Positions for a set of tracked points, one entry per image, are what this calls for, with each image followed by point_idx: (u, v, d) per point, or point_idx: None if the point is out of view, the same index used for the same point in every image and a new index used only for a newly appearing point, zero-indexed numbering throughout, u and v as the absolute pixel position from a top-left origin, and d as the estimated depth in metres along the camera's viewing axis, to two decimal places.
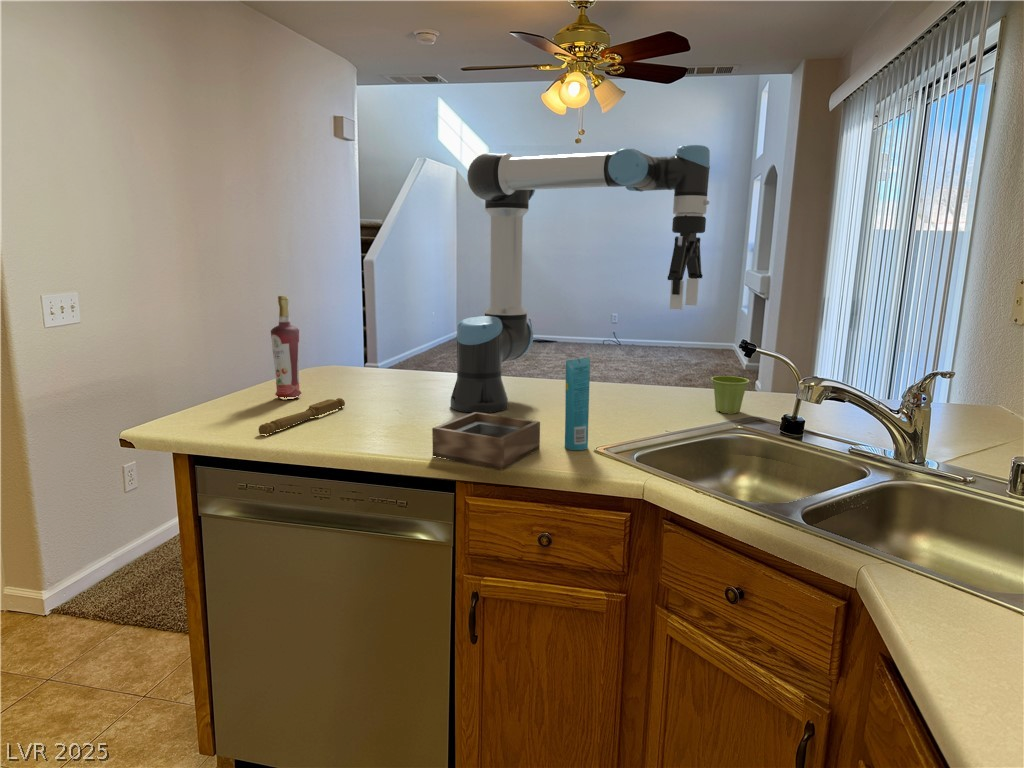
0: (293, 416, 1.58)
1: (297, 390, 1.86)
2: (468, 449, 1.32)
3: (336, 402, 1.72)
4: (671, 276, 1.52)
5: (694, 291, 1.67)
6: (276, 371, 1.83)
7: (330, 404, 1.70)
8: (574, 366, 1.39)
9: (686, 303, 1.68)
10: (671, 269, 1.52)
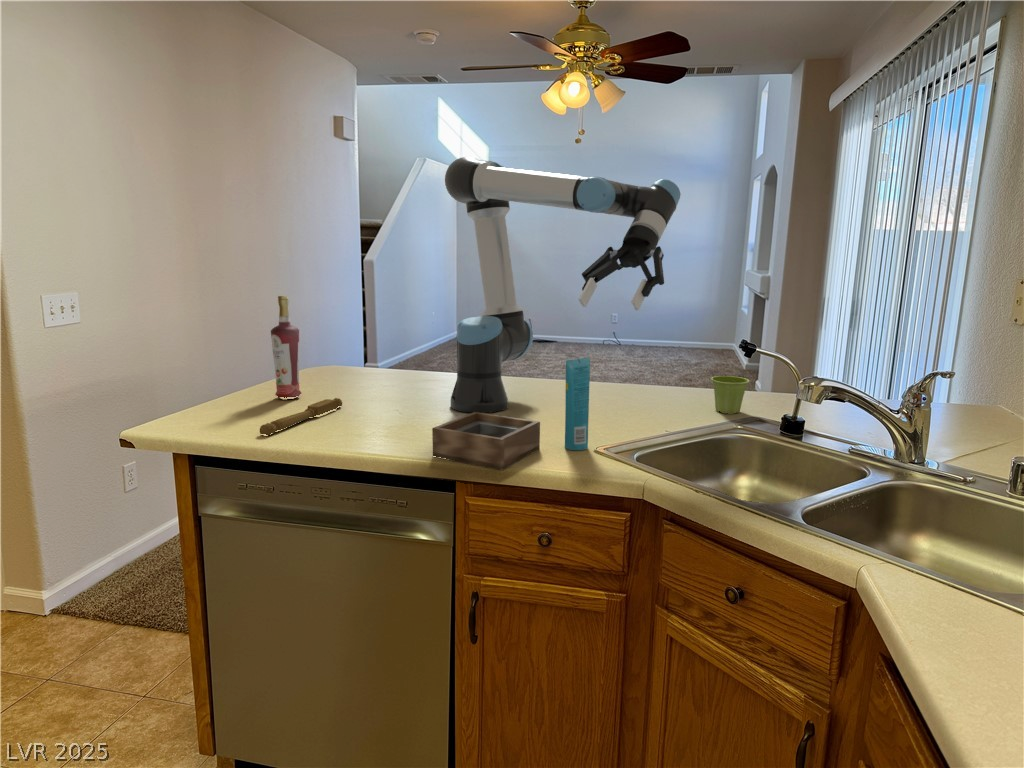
0: (293, 416, 1.58)
1: (297, 390, 1.86)
2: (468, 449, 1.32)
3: (334, 402, 1.72)
4: (659, 278, 1.45)
5: (590, 294, 1.55)
6: (276, 371, 1.83)
7: (328, 404, 1.70)
8: (574, 366, 1.39)
9: (582, 298, 1.52)
10: (660, 272, 1.46)
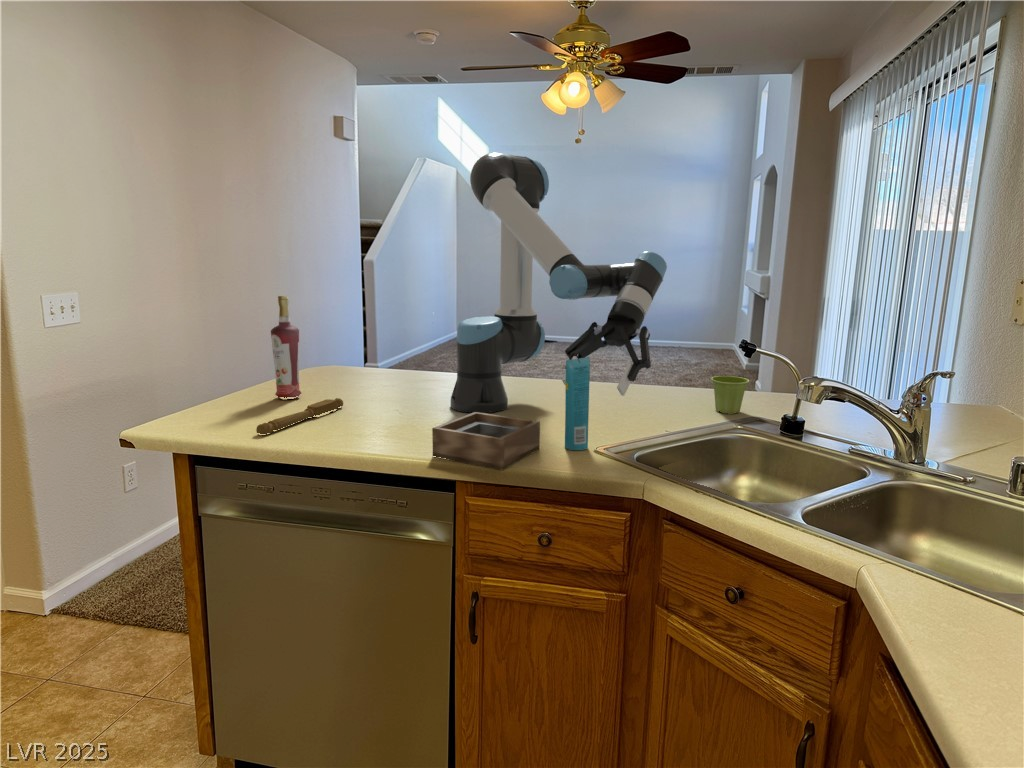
0: (291, 416, 1.58)
1: (297, 390, 1.86)
2: (468, 449, 1.32)
3: (334, 402, 1.72)
4: (646, 362, 1.39)
5: None
6: (276, 371, 1.83)
7: (328, 404, 1.70)
8: (574, 366, 1.39)
9: (565, 379, 1.46)
10: (647, 355, 1.40)
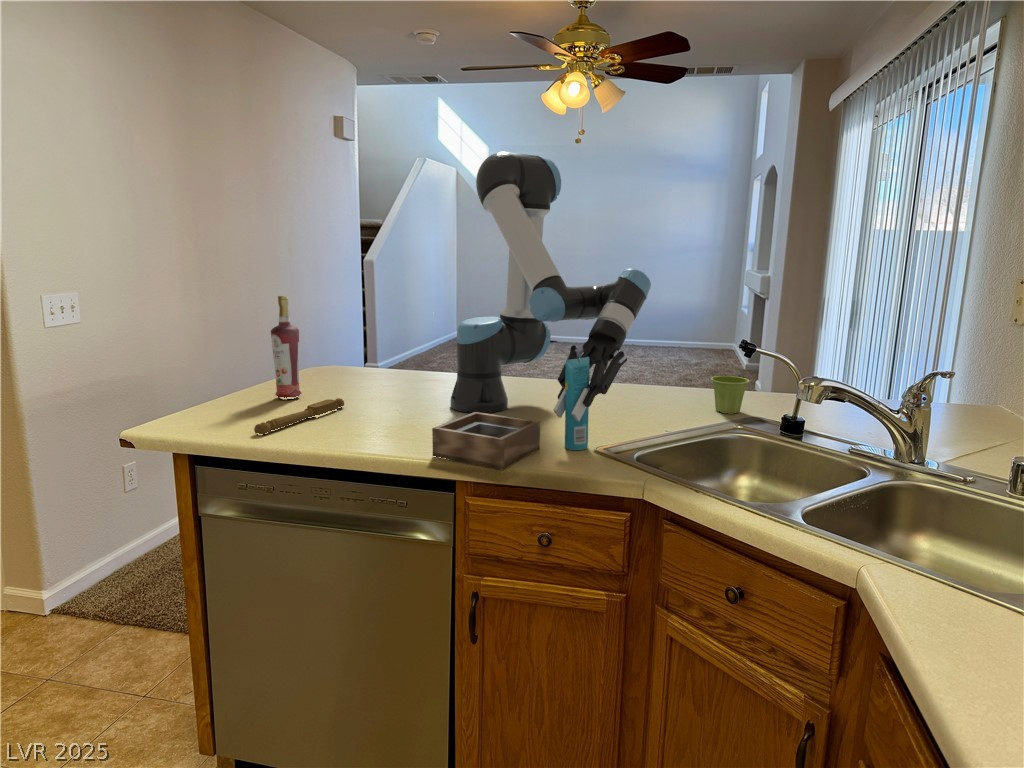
0: (290, 416, 1.58)
1: (297, 390, 1.86)
2: (468, 449, 1.32)
3: (335, 402, 1.72)
4: (602, 388, 1.39)
5: None
6: (276, 371, 1.83)
7: (329, 404, 1.70)
8: (574, 365, 1.39)
9: (557, 409, 1.40)
10: (605, 382, 1.39)
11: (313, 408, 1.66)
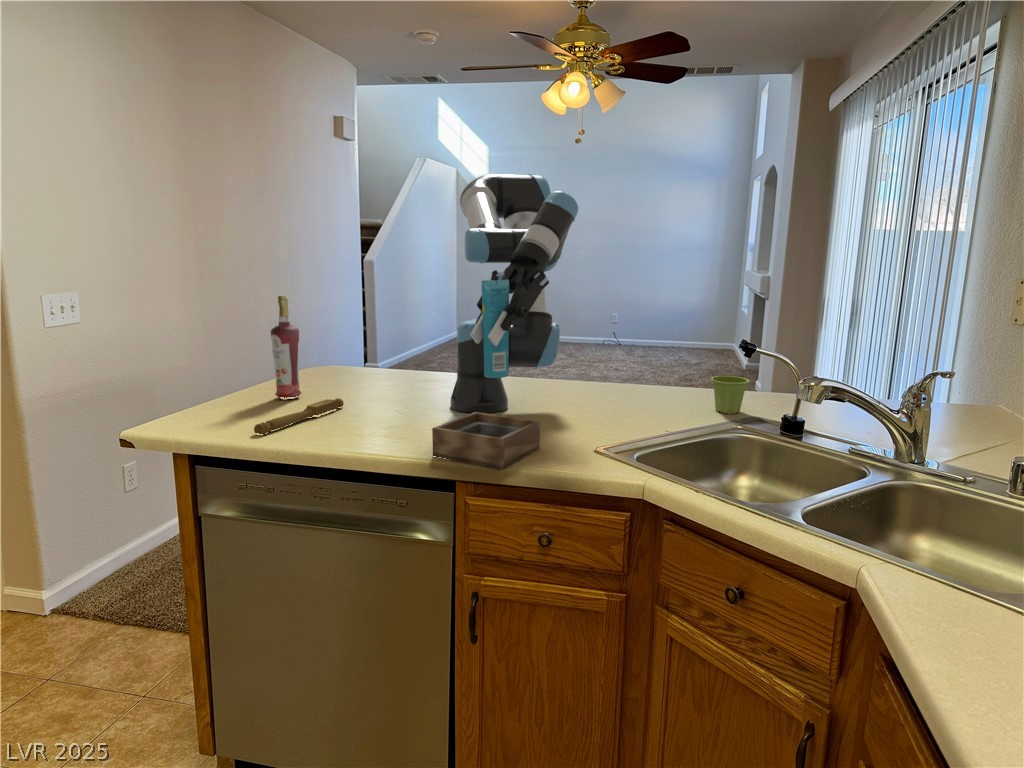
0: (290, 416, 1.58)
1: (297, 390, 1.86)
2: (468, 449, 1.32)
3: (334, 402, 1.72)
4: (520, 310, 1.31)
5: None
6: (276, 371, 1.83)
7: (328, 404, 1.70)
8: (491, 287, 1.31)
9: (474, 334, 1.32)
10: (524, 305, 1.31)
11: (312, 408, 1.66)
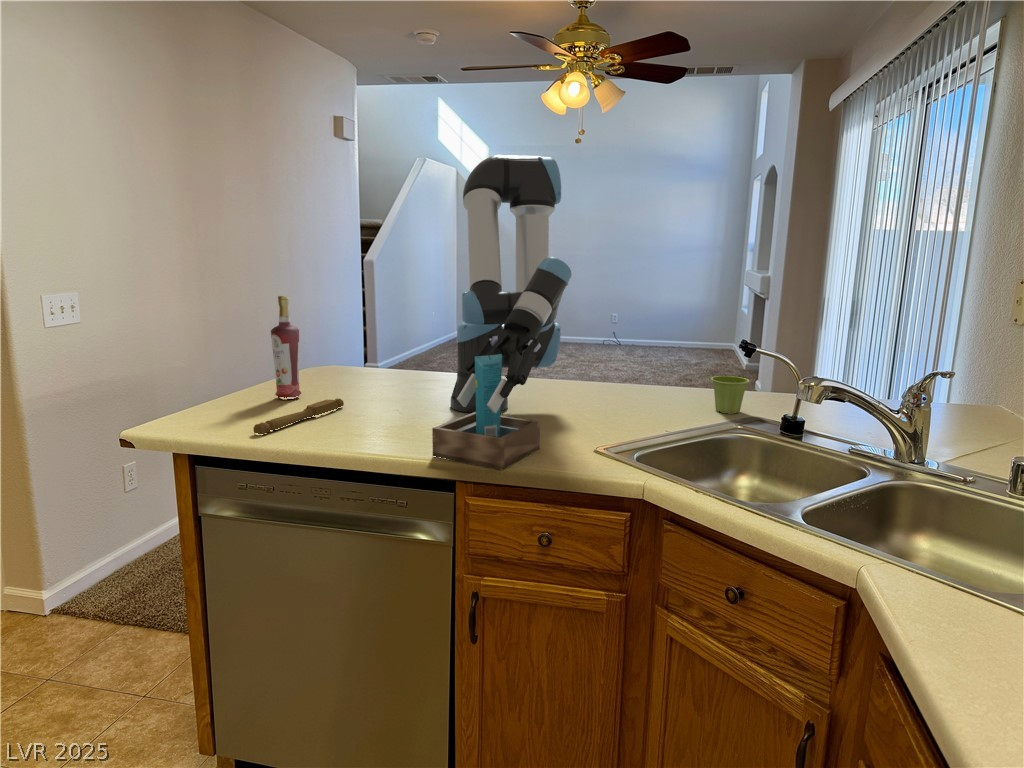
0: (289, 416, 1.58)
1: (297, 390, 1.86)
2: (468, 449, 1.32)
3: (334, 402, 1.72)
4: (519, 378, 1.33)
5: (472, 391, 1.39)
6: (276, 371, 1.83)
7: (328, 404, 1.70)
8: (484, 362, 1.35)
9: (461, 398, 1.36)
10: (523, 372, 1.33)
11: (312, 408, 1.66)
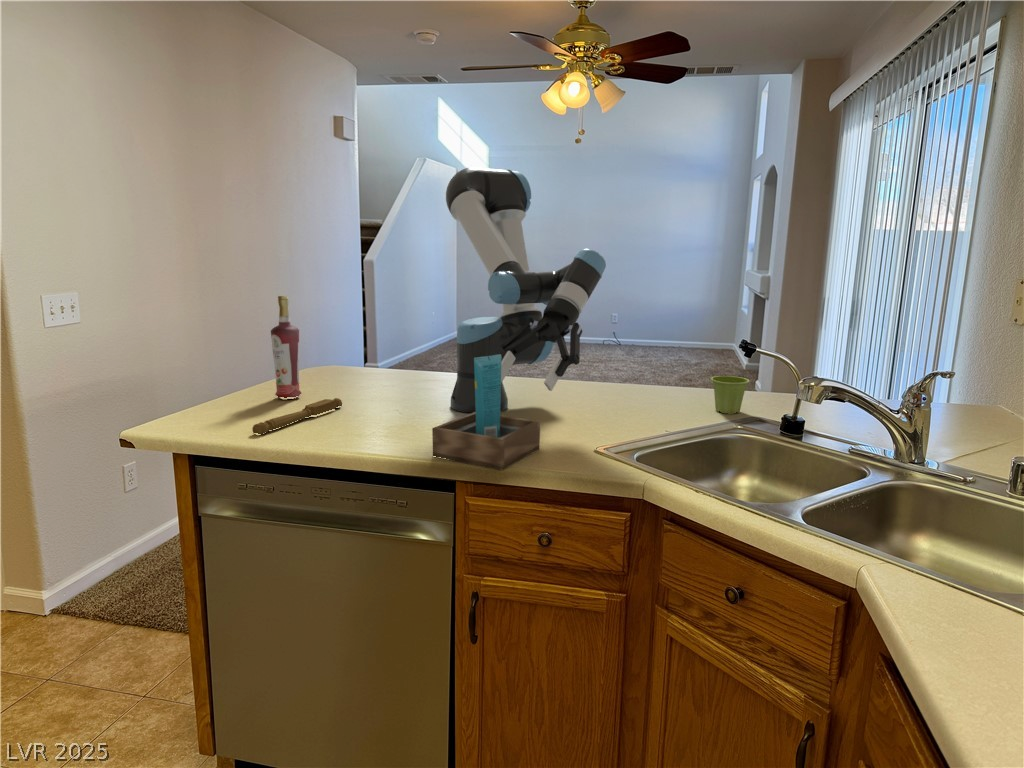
0: (288, 416, 1.58)
1: (297, 390, 1.86)
2: (468, 449, 1.32)
3: (333, 402, 1.72)
4: (574, 358, 1.41)
5: (508, 367, 1.51)
6: (276, 371, 1.83)
7: (326, 404, 1.70)
8: (483, 363, 1.34)
9: None
10: (576, 352, 1.42)
11: (311, 408, 1.66)
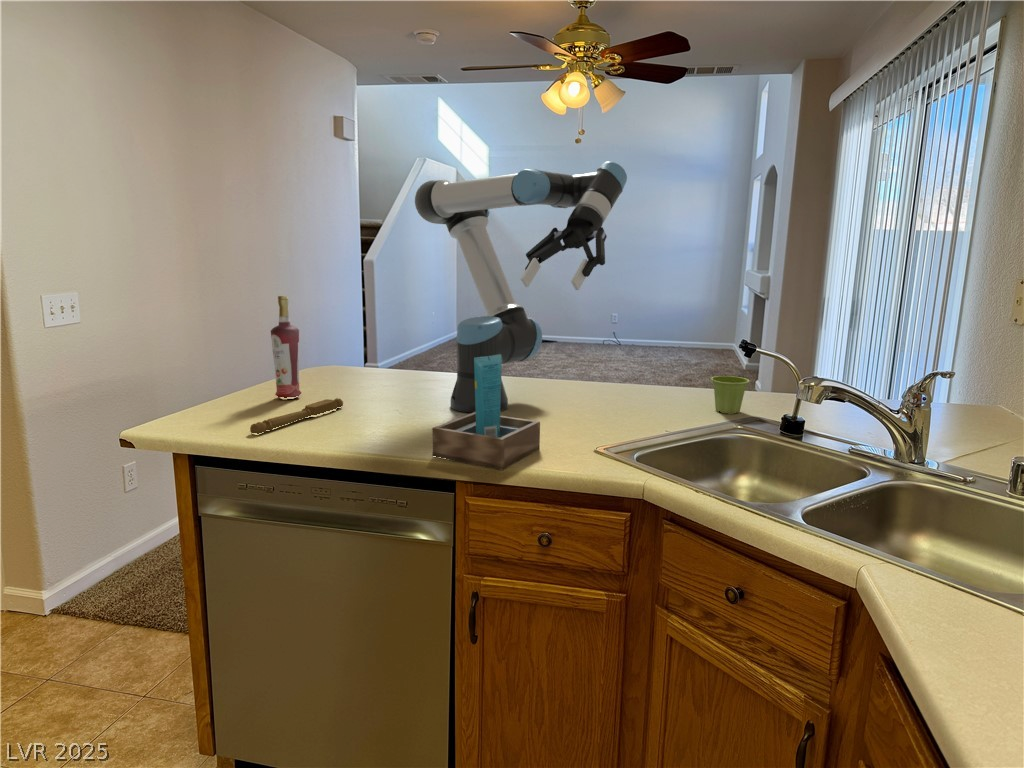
0: (287, 416, 1.59)
1: (297, 390, 1.86)
2: (468, 449, 1.32)
3: (333, 402, 1.72)
4: (600, 258, 1.44)
5: (533, 274, 1.54)
6: (276, 371, 1.83)
7: (327, 404, 1.70)
8: (483, 363, 1.34)
9: (524, 278, 1.51)
10: (601, 252, 1.45)
11: (311, 408, 1.66)
